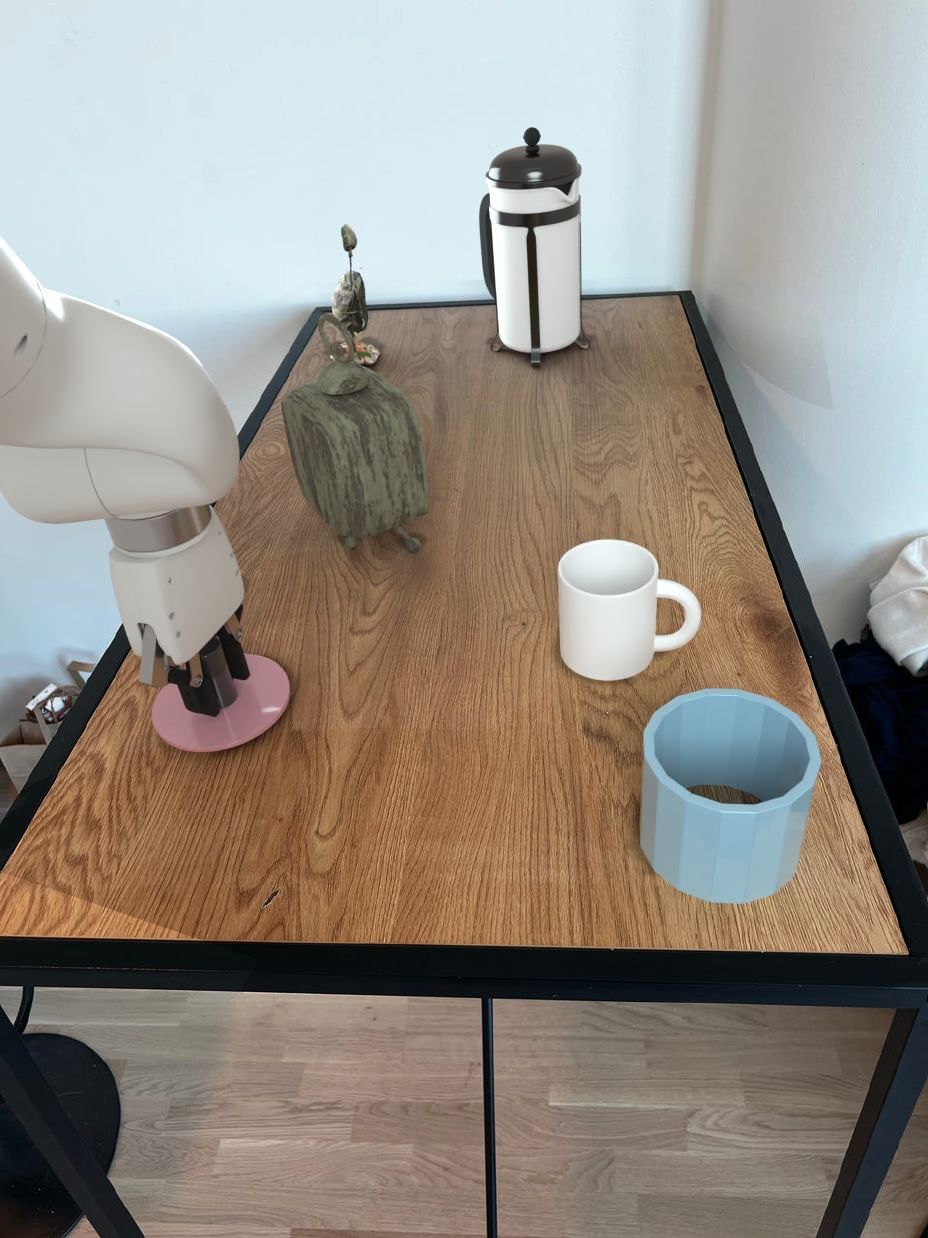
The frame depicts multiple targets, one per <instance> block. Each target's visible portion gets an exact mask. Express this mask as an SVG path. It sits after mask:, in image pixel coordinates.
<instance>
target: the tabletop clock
mask: <svg viewBox="0 0 928 1238" xmlns="http://www.w3.org/2000/svg"><path fill="white" fill-rule="evenodd" d="M325 321H326V322H328V323H329V324H331V325H333V326H334V327H335V328H336V329H338V331H339V332H340V334H341V336H343V338H344V340H345V342H347V344H348V347H349V356H345V355H344V352H343V347H342V346H341V345H340V344H339V343H336V344H334V345H332V344H331V343H330V342H329V340H328V339H327V337H326V335H325V332H324V324H325ZM317 327H318V332H319V336H320V339H321V341H322V343H323V345H324V347H325V349H326V350H327V351H328V353H329V355H330V356H331V355H332V356H333V357H334V359H333V360H334V361H333V360H331V361H329V362H328V363H327V364H326V365H324V366H323V368H322V369H321V370H320V372H319V374H318V377H317V379H314V380H311V381H308V382H305V383H301V384H299V385H296V386H293V387H292V388H291V389H290V390H289V391H288V393H287V394H286V395H285V396H284V398H283V399H282V400H281V401H280V403H281V414H282V420H283V426H284V430H285V435H286V440H287V444H288V449H289V453H290V458H291V461H292V466H293V470H294V473H295V477H296V480H297V483H298V487H299V490H300V492H301V494H302V497H303V498H304V499H305V501H306V503H308V505H309V506H310V507H311V508H312V509H313V510H314V511H315V512H316V513H317V514H318V515H319V517H320V518H321V519H322V520H323V521H324V522H325V523H326V524H327V525H329V526H330V527H331V528H332V529H334V530H335V531H336V532H337V533H338V534H340V535H341V536H344V543H345V546H346V547H348V548H349V549H355V548H356V547H358V546H359V544H360V539H369V538H372V537H373V536H376V535H379V534H382V533H384V532H386V531H388V530H391V529H392V530H394V531H396V532H397V534H398V535H400V537H402V538H403V539H404V541H405V548H406V551H408V552H410V553H414V554H415V553H417V552H419V550H420V549H421V546H422V545H421V542H420V539H418V538H417V537H412V536H410V535H409V534H408V532H407V531H406V530H405V528H404V527H403V524H406V523H407V522H411V521H413V520H415V519H418V518H420V517H422V516H425V515H428V512H429V505H430V503H429V502H430V500H429V499H430V498H429V495H430V494H429V482H428V472H427V470H428V469H427V463H426V457H425V450H424V444H423V438H422V433H421V429H420V424H419V420H418V417H417V414H416V410H415V407H414V404H413V403H412V402H411V400H410V399H409V397H408V396H407V395H406V394H405V393H404V392H403V391H402V390H401V389H400V388H399V387H398V386H396V385H395V384H393V383H392V382H391V381H390V380H388V378H386V377H384V375H382V374H380V373H378V372H377V371H374V370H373V369H371V368H368V367H366V366H364V365H362V364H359V363H358V362H356V361H354V360H353V358H354V348H353V344H352V340H351V337H350V336H351V334H350V332H349V331H348V330H347V329H346V328H345V326H344V325H343V324H342V322H340V321H339V320H338V319H337V318H335V317H334V315H333V314H329V313H323V314H321V315H320V316H319V318H318V321H317Z"/></svg>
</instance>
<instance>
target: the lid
mask: <svg viewBox="0 0 928 1238" xmlns="http://www.w3.org/2000/svg"><path fill="white" fill-rule="evenodd" d="M244 655H245V659H246V662H247V665H248V668H249V672H250V676H249V678H248V679H247V680H244V681H243V680H238V679H234V678H233V676H232V673H231V670H230V667H229V664H228V660H227V657H226V654H225V651H224V648H223V645H222V642H221V639H220V638H219V637H217V636H215V635H214V636H213V637H212V638H211V639H210V640H209V641H208V642H207V643H206V644H205V645H204V646H203V647H202V649H201V650H200V651H199V657H200V663H201V669H202V675H203V677H206V678H208V679H210V681H211V684H212V687H213V690H214V693H215V696H216V699H217V702H218V704H219V707H220V713H219V714H218V715H217V716H216V717H212V716H208V715H204V714H198V713H193V712H191V711H189V710H187V709H186V707H185V705H184V702H183V700H182V697H181V694H180V692H179V689H178V686H177V685H176V684H168V685H166V686H162V688H161V689H160V691H159V692H158V694H157V696H156V697H155V699H154V702H153V705H152V708H151V722H152V725H153V728H154V730H155V732H156V734H157V735H158V737H160V739H161V740H162V741H163V742H165V743H167V744H168V745H170V746H172V747H174V748H176V749H178V750H181V751H188V752H191V753H193V752H194V753H211V752H218V751H224V749H225V750H229V749H228V748H230V749H232V747H233V748H236V747H239V746H241V745H244V744H245V742H246V743H248V742H250V741H251V740H253V739H255V738H258V737H259V736H260V735H262V734H263V733H265V732H267V730H269V729H270V728H271V727H272V726H273V725H274V724H275V723H277V721H278V720H279V719H280V717H281V716H282V715H283V713H284V712H285V711H286V708H287V707H288V704H289V702H290V698H291V683H290V680H289V677H288V674H287V673H286V671H285V670H284V669H283V668H282V666H280V664H278V663H277V662H276V661H274V660H271V659H270V658H267V657H265V656H262V655H258V654H252V653H244ZM243 743H244V744H243ZM240 744H241V745H240ZM238 745H239V746H238ZM235 746H236V747H235Z"/></svg>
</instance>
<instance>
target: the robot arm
mask: <svg viewBox="0 0 928 1238" xmlns="http://www.w3.org/2000/svg"><path fill="white" fill-rule="evenodd" d="M240 459H241V458H240V445H239V439H238V435H237V430H236V427H235V424H234V420H233V418H232V417H231V414H230V412H229V409H228V406H227V405H226V403H225V400H224V399H223V396H222V395H221V393H220V392H219V390H218V388H217V387H216V384H215V383H214V382H213V380H212V379H211V377H210V375H209V374H208V372H207V371H206V369H205V368H204V366H203V364H202V363H201V361H200V360H199V359H198V357H196V355H195V354H194V353H193V352H192V350H191V349H189V347H187V346H186V345H184V343H183V342H180V340H178V339H177V338H175V337H173V336H171V335H170V334H169V333H167V332H164V331H162V330H161V329H158V328H156V327H154V326H152V325H149V324H147V323H145V322H142V321H139V320H137V319H133V318H132V317H129V316H125V315H123V314H121V313H117V312H115V311H113V310H110V309H107V308H104V307H103V306H99V305H98V304H97V305H96V304H94V303H91V302H89V301H85V300H83V299H81V298H77V297H74V296H70V295H68V294H64V293H61V292H57V291H54V290H51V289H47V288H44V286H42V284H41V283H40V282H39V280H38V279H37V278H36V277H35V275H34V274H33V273H32V272H31V270H30V269H29V268H28V267H27V266H26V264H24V263H23V261H22V260H21V259H20V258H19V257H18V256H17V254H16V253H15V252H14V251H13V249H12V248H11V247H10V246H9V245H8V244H7V242H6V241H5V240H4V238H2V237H1V236H0V492H1V494H2V496H3V499H5V500H6V502H7V503H8V505H9V506H10V507H11V508H12V509H13V510H14V511H15V512H16V513H18V515H20V516H22V517H23V518H25V519H27V520H30V521H33V522H35V523H39V524H40V523H41V524H51V525H61V524H62V525H64V524H73V523H74V524H75V523H80V522H89V521H96V520H104V522H105V525H106V528H107V531H108V533H109V535H110V538H111V541H112V543H113V547H112V549H111V550H110V551H109V552H108V563H109V571H110V578H111V583H112V589H113V592H114V597H115V601H116V605H117V609H118V613H119V616H120V618H121V622H122V625H123V628H124V630H125V634H126V637H127V639H128V642H129V645H130V648H131V649H132V652H133V653H134V655H135V656H136V657H139V658H140V668H139V679H138V680H139V684H140V685H141V686H145V687H150V688H160V687H164V686H166V685H168V684H176V685H177V686H178V689H179V692H180V694H181V697H182V700H183V702H184V705H185V707H186V709H187V710H189V711H191V712H193V713H198V714H204V715H208V716H212V717H216V716H217V715H218V714H219V713H220V707H219V704H218V702H217V699H216V696H215V693H214V690H213V687H212V684H211V681H210V679H208V678H206V677H203V675H202V669H201V663H200V657H199V651H200V650H201V649H202V647H203V646H204V645H205V644H206V643H207V642H208V641H209V640H210V639H211V638H212V637H213V636H214V635H215V636H217V637H219V638H220V639H221V642H222V645H223V648H224V651H225V654H226V657H227V660H228V664H229V667H230V670H231V673H232V676H233V678H234V679H238V680H243V681H244V680H247V679H248V678H249V676H250V672H249V668H248V665H247V662H246V659H245V655H244V654H245V652H244V649H243V645H242V643H241V642H240V641H241V640H242V638H243V636H244V629H243V627H242V625H241V619H242V616H243V611H244V602H245V598H246V595H247V593H248V589H249V587H250V581H249V580H248V578H246V577H245V576H243V575H242V573H241V569H240V566H239V563H238V560H237V557H236V554H235V551H234V549H233V547H232V544H231V542H230V539H229V537H228V535H227V532H226V530H225V527H224V526H223V524H222V522H221V520H220V518H219V516H218V515H217V513H216V511H215V509H214V508H213V506H212V505H210V504H214V503H216V502H218V501H220V500H221V499H223V498H224V497H225V496H226V495H228V493H230V491H231V490H232V488H233V487H234V485H235V483H236V480H237V478H238V473H239V469H240ZM183 664H184V665H185V668H181V665H183Z"/></svg>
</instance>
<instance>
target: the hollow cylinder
mask: <svg viewBox="0 0 928 1238" xmlns="http://www.w3.org/2000/svg"><path fill="white" fill-rule="evenodd" d="M817 740H818V739H817V736H816V735H815V734H814V732H813V731H812V730H811V728H810V727H809V726H808V725H807V724H806V723H805V721H804V720H803V719H802V718H801V717H800V715H798V714H797V713H796V712H794V711H793V710H791V709H790V708H788V707H786V706H785V705H783V704H781V703H780V702H778V701H776V700H775V699H773V698H771V697H768V696H765V695H762V694H758V693H754V692H750V691H747V690H743V689H739V688H710V687H709V688H702V689H699V690H696V691H691V692H688V693H684V694H681V695H677V696H675V697H673V698H672V699H671V700H669V701H668V702H666V703H665V704H664V705H661V707H659V708H658V709H657V710H655V711H654V712H653V714H652V716H651V717H650V720H649V721H648V723H647V725H646V727H645V729H644V730H643V733H642V754H641V755H642V758H641V779H640V781H641V782H640V802H639V846H640V848H641V851H642V852H643V854H644V856H645V857H646V860H647V861H648V863H649V864H650V865H649V866H650V867H651V868H652V870H653V871H654V872H655V873H656V874H657V875H659V876H660V877H661V878H662V879H663V880H664V881H666V882H667V883H668V884H670V885H671V886H672V887H673V888H674V889H675V890H677V891H679V892H682V893H684V894H687V895H689V896H692V897H695V898H697V899H700V900H702V901H705V902H707V903H716V904H738V905H743V904H748V903H752V902H754V901H758V900H762V899H764V898H767V897H771V896H773V895H775V894H777V892H778V891H780V890H781V889H782V888H783V887H784V886H785V885H786V884H787V883H789V882H790V881H791V880H792V879H793V878H794V877H795V875H796V873H797V869H798V866H799V863H800V861H801V857H802V855H803V850H804V846H805V842H806V837H807V833H808V827H809V822H810V818H811V813H812V809H813V804H814V799H815V794H816V790H817V786H818V781H819V776H820V771H821V767H822V757H821V753H820V748H819V743H818V741H817ZM696 786H726V787H729V788H733V789H735V790H739V791H742V792H745V793H748V794H752V795H753V796H754V797H755V798H757V799H759V800H760V801H761V802H759V803H755V804H749V803H748V804H745V803H723V802H719V801H716V800H712V799H711V798H707V797H705V796H701V795H698V794H694V793H692V792H691V791H689V790H688V789H690V788H692V787H693V788H694V787H696Z"/></svg>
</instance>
